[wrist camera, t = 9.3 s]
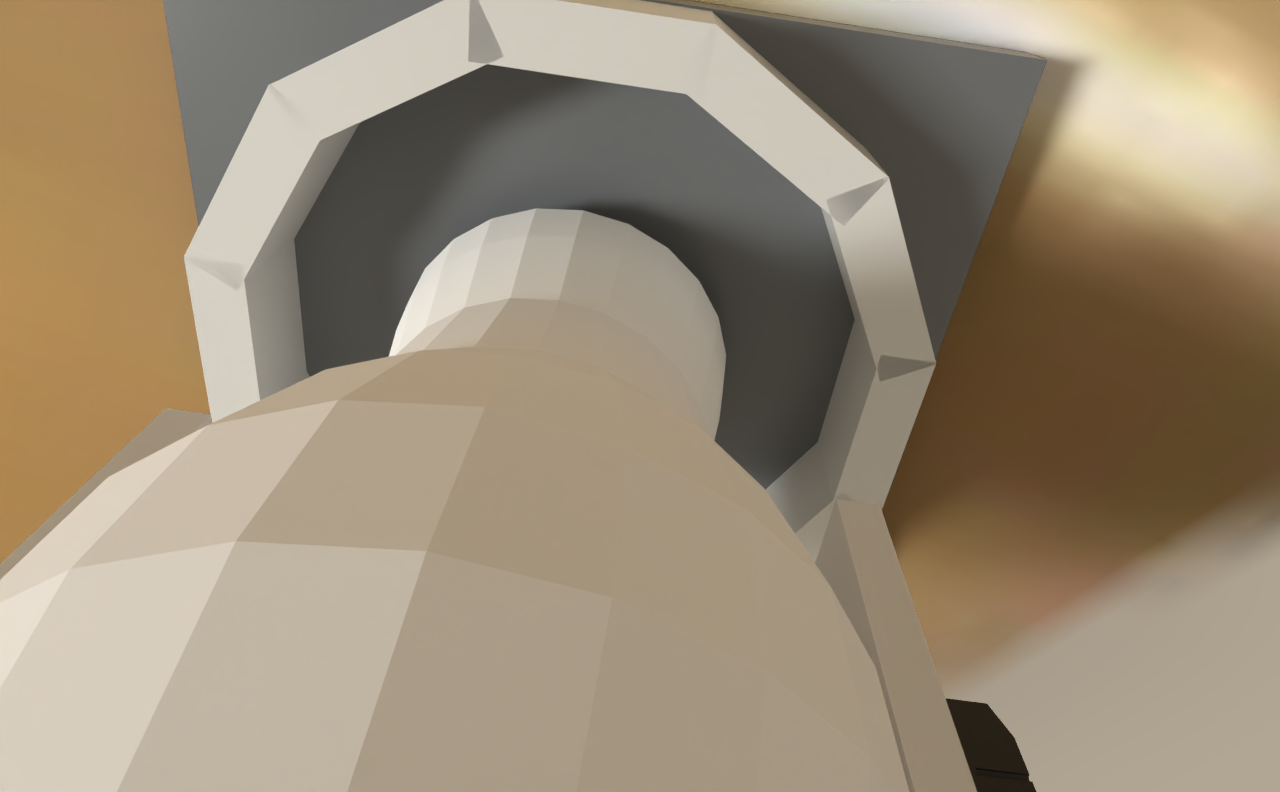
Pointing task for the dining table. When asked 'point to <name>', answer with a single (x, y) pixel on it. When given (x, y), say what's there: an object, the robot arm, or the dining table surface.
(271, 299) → the holder tray
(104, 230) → the dining table surface
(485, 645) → the cup
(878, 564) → the robot arm
